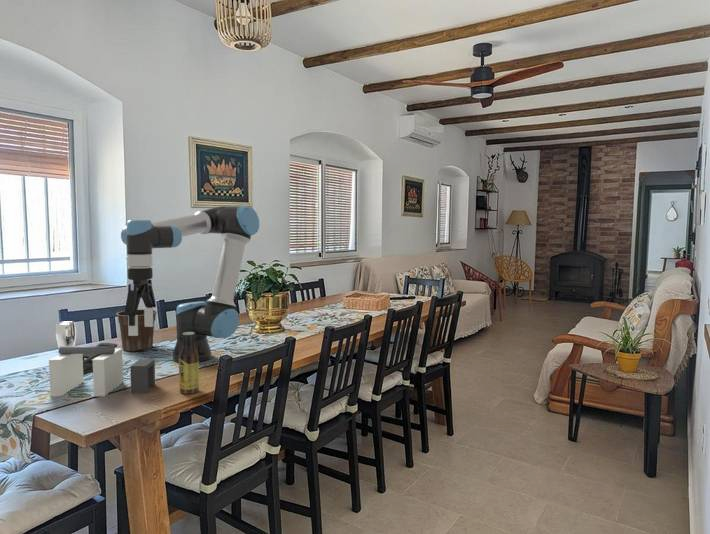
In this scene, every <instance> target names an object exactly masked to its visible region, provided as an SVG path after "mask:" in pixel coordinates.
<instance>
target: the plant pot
mask: <svg viewBox="0 0 710 534" xmlns="http://www.w3.org/2000/svg"><path fill="white" fill-rule="evenodd" d="M157 313H158V311H157V310H155V309H153V327H145V322H144V308H143V309H138V310H137V313H136V315H138V336H129V335H128V316H125V310H123V311H118V312H116V316H117V321H118V322H117V323H118V324H119V328H120V338H121V345H122V346H121V347H122V351H126V352H138V351H146V350H151V349H152V348H153V346H154V332H155V331H154V330H155V321H156V315H157Z"/></svg>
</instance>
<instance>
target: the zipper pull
mask: <svg viewBox="0 0 710 534" xmlns="http://www.w3.org/2000/svg"><path fill="white" fill-rule="evenodd" d="M96 346H114V347H115V348H118V344H117V343H112V342H100V343H98V344H97V345H96ZM100 355H101V354H83V375H85V374H87V373H89V372H91V371H93V359H95V358H96V357H98V356H100ZM88 371H89V372H88ZM84 373H85V374H84Z"/></svg>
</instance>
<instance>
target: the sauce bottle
mask: <svg viewBox="0 0 710 534" xmlns="http://www.w3.org/2000/svg"><path fill="white" fill-rule="evenodd" d="M182 338H183V345H182V349H181V352H180V355H179V362H178V386H179V387H178V388H179V393H182V394H183V395H190V394H195V393H197V392H198V391H199V388H200V362H199V360H198V351H197V349H196V348H195V340H194V339H195V333H194V332H185V333H182Z"/></svg>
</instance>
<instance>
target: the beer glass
mask: <svg viewBox="0 0 710 534" xmlns="http://www.w3.org/2000/svg"><path fill="white" fill-rule="evenodd" d="M55 325H56V326H55V338H56V343H57V347H58V348H59V347H60V346H76V339H77V328H76V327H77V326H76V321H72V320H71V321H59V322H57V323H55Z"/></svg>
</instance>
